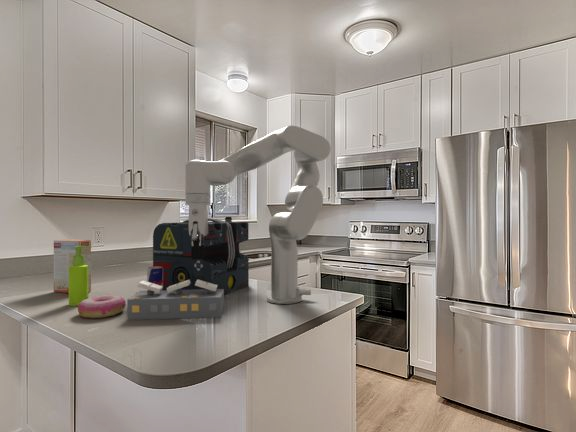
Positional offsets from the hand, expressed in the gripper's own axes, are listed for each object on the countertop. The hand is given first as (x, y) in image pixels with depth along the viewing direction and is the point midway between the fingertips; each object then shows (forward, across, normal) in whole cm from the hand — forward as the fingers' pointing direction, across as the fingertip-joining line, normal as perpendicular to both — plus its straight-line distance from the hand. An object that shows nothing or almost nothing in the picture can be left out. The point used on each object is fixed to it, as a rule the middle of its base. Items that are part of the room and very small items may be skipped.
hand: (197, 257), depth 112 cm
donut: (+18, +2, +30) cm, 34 cm away
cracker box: (+17, +36, +54) cm, 68 cm away
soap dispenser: (+17, +16, +42) cm, 49 cm away
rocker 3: (+9, 0, -3) cm, 9 cm away
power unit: (+18, +35, +3) cm, 39 cm away
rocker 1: (+9, 0, +14) cm, 17 cm away
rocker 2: (+9, 0, +6) cm, 11 cm away
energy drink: (+17, +17, +17) cm, 30 cm away
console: (+17, 0, +6) cm, 18 cm away
